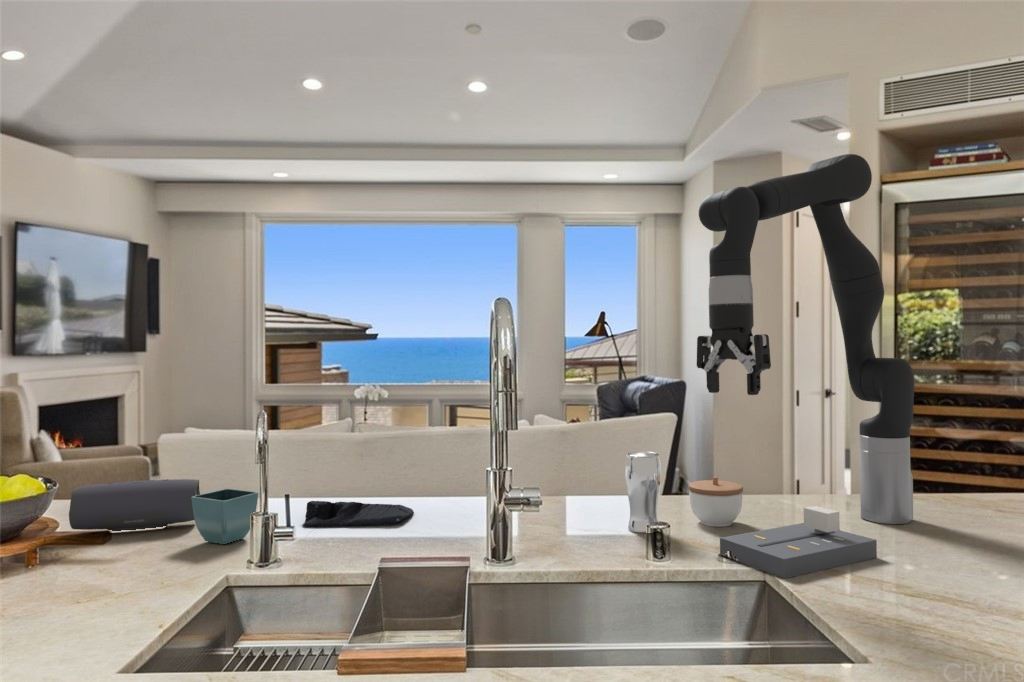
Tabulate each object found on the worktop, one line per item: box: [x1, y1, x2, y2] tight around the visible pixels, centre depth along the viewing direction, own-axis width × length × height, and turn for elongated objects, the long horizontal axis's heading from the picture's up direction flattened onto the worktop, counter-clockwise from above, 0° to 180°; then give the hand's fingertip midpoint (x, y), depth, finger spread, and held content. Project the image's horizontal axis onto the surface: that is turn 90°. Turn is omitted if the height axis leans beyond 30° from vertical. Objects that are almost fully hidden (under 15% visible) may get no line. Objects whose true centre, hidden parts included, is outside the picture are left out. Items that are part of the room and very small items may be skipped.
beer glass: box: [624, 451, 662, 535], centre depth 141 cm, size 7×7×15 cm
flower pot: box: [191, 488, 259, 545], centre depth 137 cm, size 9×9×9 cm
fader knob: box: [803, 505, 840, 534], centre depth 125 cm, size 3×5×4 cm, turn 27°
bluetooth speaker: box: [68, 478, 201, 531], centre depth 146 cm, size 23×9×10 cm, turn 108°
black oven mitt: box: [302, 500, 415, 528], centre depth 153 cm, size 15×22×5 cm
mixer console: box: [719, 522, 878, 579], centre depth 123 cm, size 22×14×3 cm, turn 117°
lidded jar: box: [688, 476, 744, 528], centre depth 146 cm, size 11×11×9 cm
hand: (732, 393), depth 127 cm, fingers open, 8 cm apart
